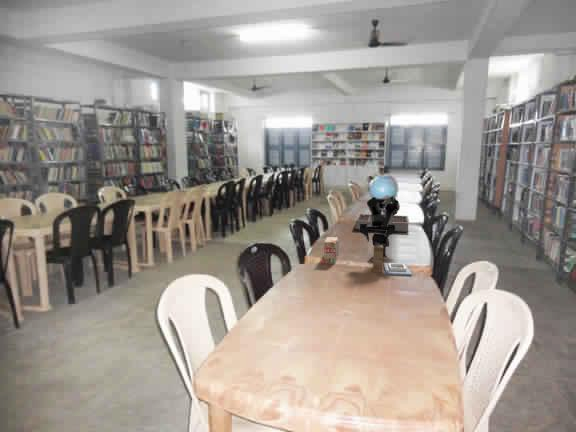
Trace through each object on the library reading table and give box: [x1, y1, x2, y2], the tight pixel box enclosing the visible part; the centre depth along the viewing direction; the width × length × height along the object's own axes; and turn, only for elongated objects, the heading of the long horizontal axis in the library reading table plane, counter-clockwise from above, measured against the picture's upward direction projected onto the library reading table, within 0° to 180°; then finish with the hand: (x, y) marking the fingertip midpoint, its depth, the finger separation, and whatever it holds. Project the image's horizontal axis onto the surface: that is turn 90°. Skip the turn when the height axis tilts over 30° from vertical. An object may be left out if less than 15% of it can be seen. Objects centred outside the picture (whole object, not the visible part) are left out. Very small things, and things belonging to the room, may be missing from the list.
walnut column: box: [372, 245, 384, 273], centre depth 201 cm, size 4×4×13 cm
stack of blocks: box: [323, 236, 340, 265], centre depth 224 cm, size 21×6×12 cm, turn 168°
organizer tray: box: [354, 212, 410, 233], centre depth 309 cm, size 32×40×10 cm
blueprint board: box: [383, 262, 413, 277], centre depth 203 cm, size 18×12×2 cm, turn 172°
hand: (377, 241), depth 207 cm, fingers open, 9 cm apart
